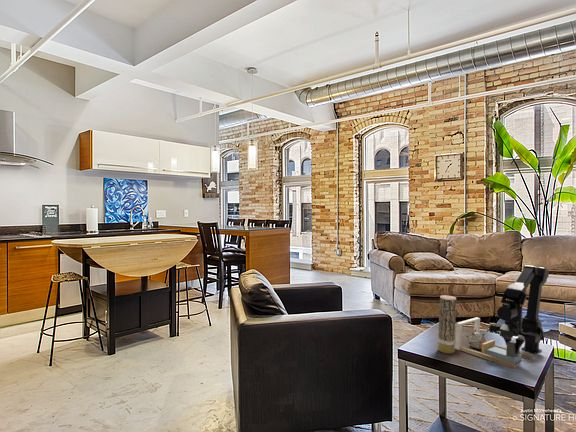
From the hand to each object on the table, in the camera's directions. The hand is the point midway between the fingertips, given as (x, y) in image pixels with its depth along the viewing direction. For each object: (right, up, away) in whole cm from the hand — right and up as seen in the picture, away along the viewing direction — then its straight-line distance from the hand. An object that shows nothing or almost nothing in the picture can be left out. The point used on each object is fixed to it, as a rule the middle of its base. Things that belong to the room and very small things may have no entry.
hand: (512, 352), depth 164 cm
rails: (-4, -3, +6) cm, 8 cm away
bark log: (-26, -3, +8) cm, 27 cm away
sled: (-3, -3, +4) cm, 6 cm away
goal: (-12, -3, +16) cm, 20 cm away
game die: (-9, -3, +13) cm, 16 cm away
